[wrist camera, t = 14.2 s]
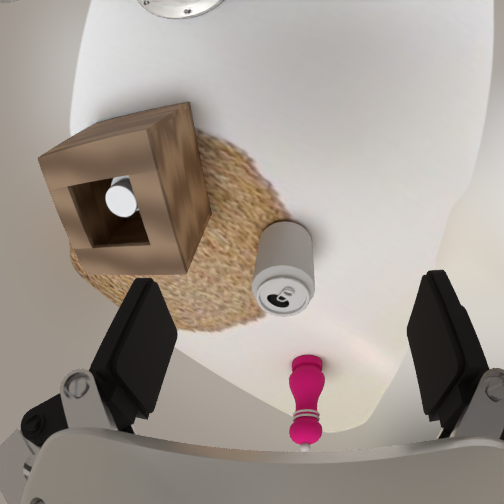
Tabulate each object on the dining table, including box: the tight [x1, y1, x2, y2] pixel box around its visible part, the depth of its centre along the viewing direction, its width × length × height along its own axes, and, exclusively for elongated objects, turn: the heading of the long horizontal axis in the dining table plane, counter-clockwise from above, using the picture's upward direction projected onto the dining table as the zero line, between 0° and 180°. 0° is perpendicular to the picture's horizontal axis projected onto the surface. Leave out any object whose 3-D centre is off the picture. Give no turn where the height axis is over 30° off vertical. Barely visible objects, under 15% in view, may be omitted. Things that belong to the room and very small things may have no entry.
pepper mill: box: [289, 355, 325, 452], centre depth 55 cm, size 7×7×20 cm
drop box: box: [38, 102, 211, 275], centre depth 36 cm, size 16×14×13 cm
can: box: [252, 221, 315, 317], centre depth 41 cm, size 8×8×12 cm
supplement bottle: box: [106, 175, 139, 217], centre depth 36 cm, size 5×5×10 cm
